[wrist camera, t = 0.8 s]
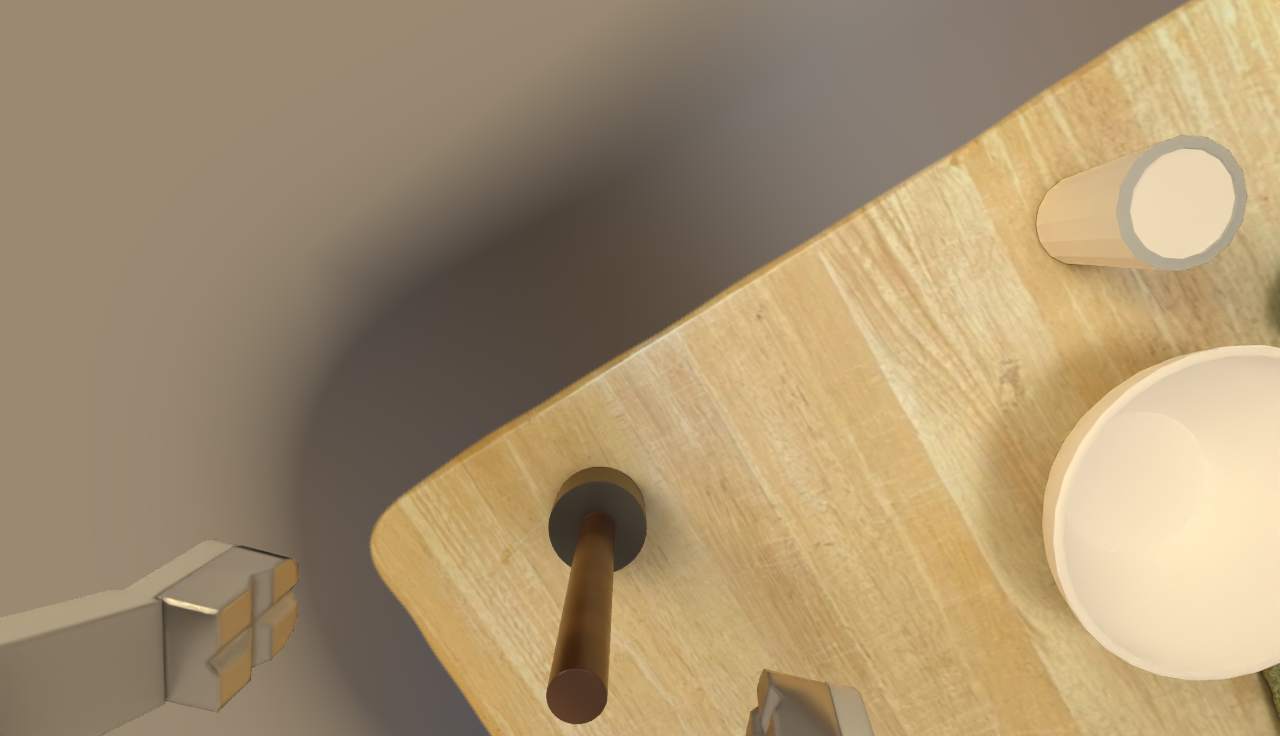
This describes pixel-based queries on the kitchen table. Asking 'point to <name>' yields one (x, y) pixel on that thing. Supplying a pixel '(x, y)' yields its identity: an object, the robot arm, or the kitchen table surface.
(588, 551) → the paper towel holder
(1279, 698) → the washcloth
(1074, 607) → the bowl
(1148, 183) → the shot glass
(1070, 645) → the kitchen table surface
